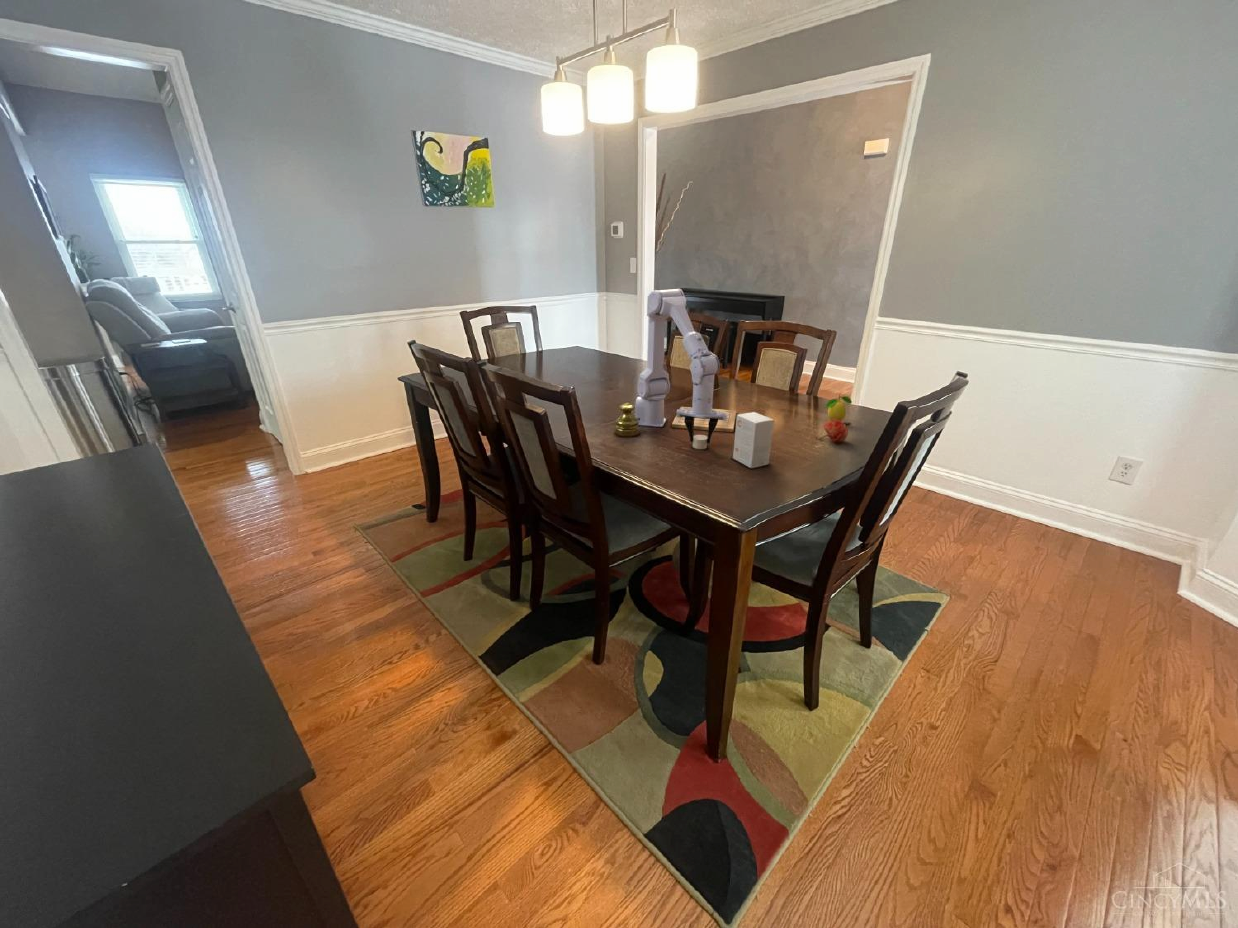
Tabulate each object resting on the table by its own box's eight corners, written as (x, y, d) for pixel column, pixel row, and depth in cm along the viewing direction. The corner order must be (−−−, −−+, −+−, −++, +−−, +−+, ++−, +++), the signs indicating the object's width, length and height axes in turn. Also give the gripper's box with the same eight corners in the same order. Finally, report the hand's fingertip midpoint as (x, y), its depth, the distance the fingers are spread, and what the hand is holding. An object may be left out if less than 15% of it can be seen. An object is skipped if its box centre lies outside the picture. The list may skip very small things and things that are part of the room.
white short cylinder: (691, 448, 146) (692, 439, 145) (693, 443, 150) (693, 434, 148) (706, 449, 145) (707, 440, 144) (707, 444, 149) (708, 435, 147)
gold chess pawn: (612, 431, 160) (611, 401, 156) (632, 428, 163) (632, 398, 159) (621, 438, 154) (621, 408, 150) (642, 435, 157) (643, 404, 153)
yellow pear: (848, 422, 166) (853, 393, 162) (842, 426, 162) (848, 397, 158) (828, 418, 170) (833, 390, 166) (822, 422, 166) (827, 394, 162)
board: (671, 427, 163) (671, 423, 163) (680, 409, 181) (680, 406, 180) (733, 432, 158) (733, 428, 158) (736, 413, 176) (736, 410, 175)
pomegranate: (822, 451, 149) (854, 437, 143) (810, 430, 149) (841, 415, 143) (827, 446, 155) (858, 432, 148) (816, 426, 155) (846, 411, 149)
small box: (769, 464, 134) (774, 419, 129) (750, 469, 132) (755, 423, 127) (749, 454, 141) (754, 411, 136) (732, 458, 139) (736, 414, 133)
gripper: (675, 399, 139) (673, 444, 145) (727, 403, 136) (723, 448, 141) (679, 393, 146) (677, 436, 151) (729, 396, 142) (725, 440, 148)
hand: (700, 441), depth 147 cm, fingers closed on white short cylinder, 4 cm apart
